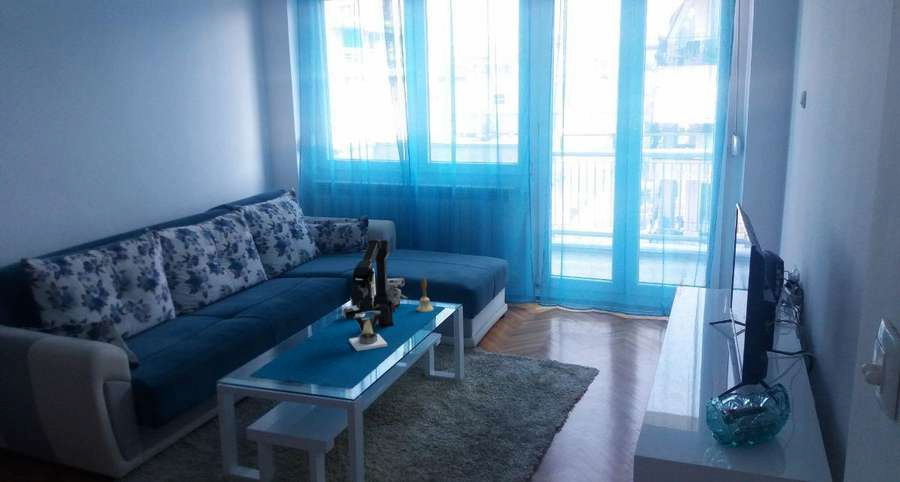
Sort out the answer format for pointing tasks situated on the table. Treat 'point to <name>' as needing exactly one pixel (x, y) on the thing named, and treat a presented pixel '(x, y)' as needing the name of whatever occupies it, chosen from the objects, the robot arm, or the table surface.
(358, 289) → the robot arm
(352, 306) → the can
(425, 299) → the hand bell
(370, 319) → the brass cylinder
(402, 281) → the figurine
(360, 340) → the socket collar
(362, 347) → the socket base
